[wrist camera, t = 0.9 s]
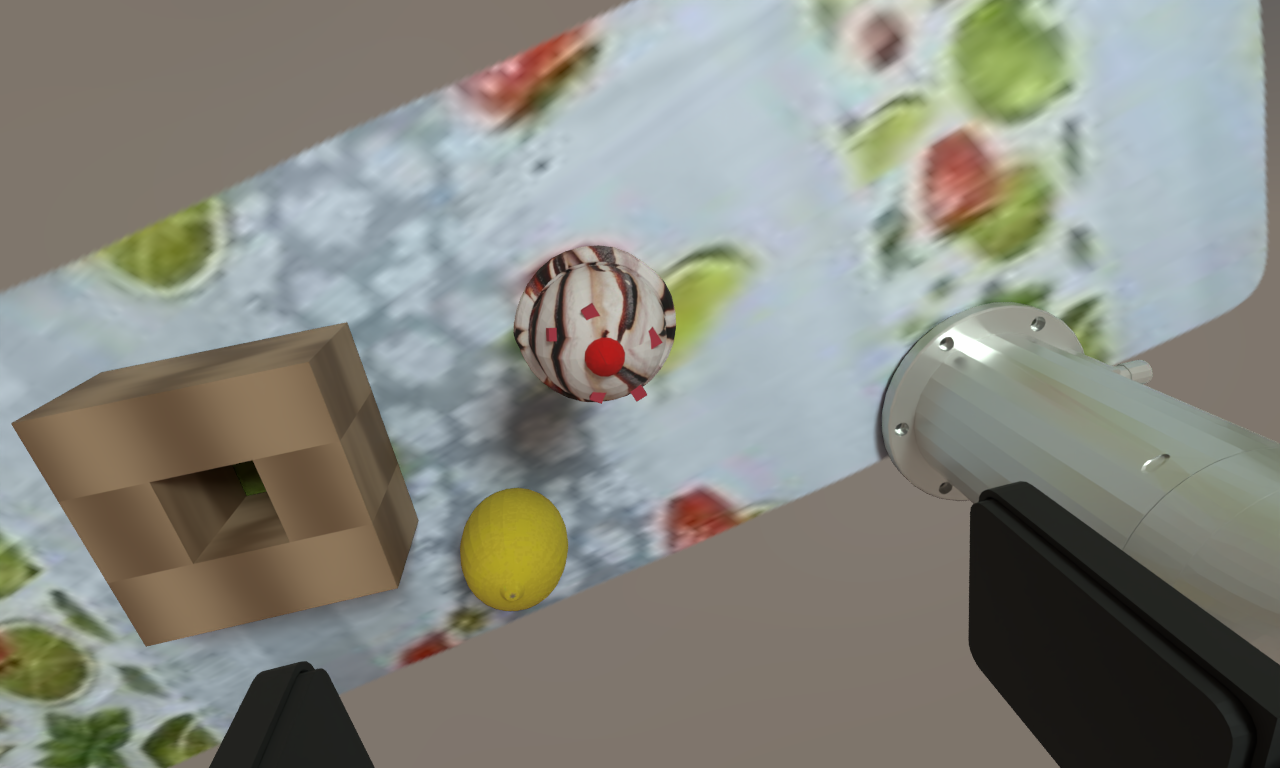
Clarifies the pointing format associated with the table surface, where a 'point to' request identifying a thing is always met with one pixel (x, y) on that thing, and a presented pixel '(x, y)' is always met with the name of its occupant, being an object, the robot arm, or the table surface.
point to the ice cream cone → (595, 324)
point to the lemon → (514, 549)
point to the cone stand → (229, 482)
